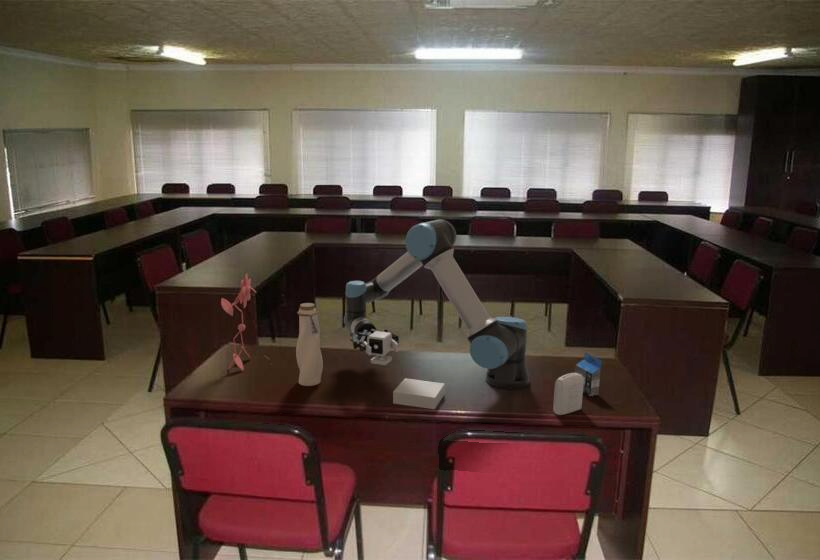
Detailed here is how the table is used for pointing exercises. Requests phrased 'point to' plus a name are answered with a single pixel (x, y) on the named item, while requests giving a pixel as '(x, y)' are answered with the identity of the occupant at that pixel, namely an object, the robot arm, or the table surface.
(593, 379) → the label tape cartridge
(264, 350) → the table surface
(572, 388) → the photo printer
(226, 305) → the figurine
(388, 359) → the security camera
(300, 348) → the water bottle
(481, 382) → the table surface
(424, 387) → the plinth
